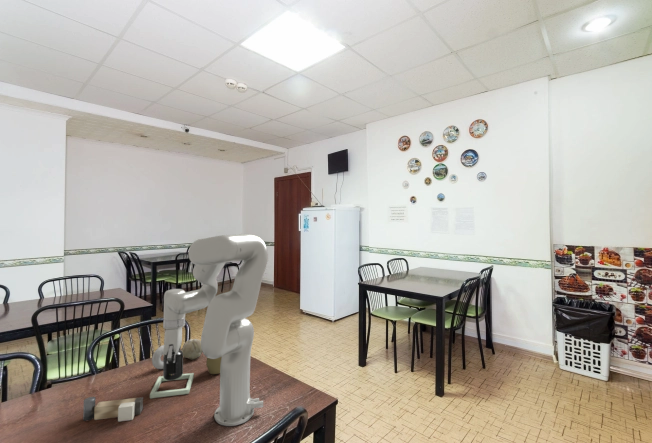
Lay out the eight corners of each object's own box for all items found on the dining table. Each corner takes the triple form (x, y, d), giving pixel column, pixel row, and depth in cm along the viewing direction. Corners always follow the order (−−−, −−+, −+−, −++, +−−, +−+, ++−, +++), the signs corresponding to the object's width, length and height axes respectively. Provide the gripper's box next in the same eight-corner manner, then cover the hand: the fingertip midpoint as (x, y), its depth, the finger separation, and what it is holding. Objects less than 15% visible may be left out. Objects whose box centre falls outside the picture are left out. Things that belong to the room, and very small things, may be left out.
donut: (172, 362, 139) (172, 340, 139) (176, 364, 137) (177, 342, 137) (149, 371, 130) (150, 348, 130) (154, 374, 128) (154, 350, 128)
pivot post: (96, 414, 101) (97, 396, 101) (92, 420, 99) (92, 401, 99) (86, 415, 101) (86, 397, 101) (81, 421, 98) (81, 402, 98)
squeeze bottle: (219, 377, 127) (220, 333, 127) (202, 374, 128) (202, 331, 128) (229, 368, 135) (230, 326, 135) (212, 365, 136) (213, 325, 136)
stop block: (134, 415, 101) (135, 401, 101) (132, 419, 99) (132, 406, 99) (120, 416, 100) (121, 403, 100) (118, 421, 98) (118, 407, 98)
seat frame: (193, 376, 127) (193, 372, 127) (188, 393, 114) (188, 389, 114) (158, 380, 123) (158, 376, 123) (149, 398, 111) (149, 394, 111)
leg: (94, 419, 99) (94, 407, 99) (98, 414, 102) (98, 402, 102) (139, 414, 102) (140, 402, 102) (142, 408, 105) (143, 397, 105)
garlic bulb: (202, 361, 145) (210, 342, 145) (187, 366, 138) (195, 345, 138) (189, 351, 150) (197, 332, 150) (174, 355, 142) (182, 334, 142)
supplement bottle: (164, 373, 121) (165, 342, 121) (183, 370, 123) (184, 340, 123) (161, 381, 115) (162, 349, 115) (181, 379, 117) (182, 347, 117)
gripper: (168, 315, 126) (167, 359, 126) (157, 330, 110) (156, 381, 110) (188, 314, 128) (187, 357, 128) (180, 329, 112) (179, 378, 112)
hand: (173, 367), depth 119 cm, fingers closed on supplement bottle, 6 cm apart
